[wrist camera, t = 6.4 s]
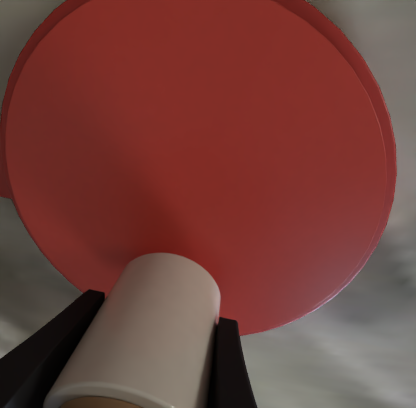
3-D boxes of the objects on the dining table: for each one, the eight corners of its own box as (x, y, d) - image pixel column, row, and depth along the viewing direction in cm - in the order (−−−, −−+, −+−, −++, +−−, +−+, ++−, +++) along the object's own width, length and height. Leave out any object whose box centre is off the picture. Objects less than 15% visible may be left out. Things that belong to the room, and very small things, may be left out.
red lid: (474, 13, 8) (516, 4, 7) (308, 342, 15) (314, 368, 14) (-68, -66, 9) (-120, -87, 7) (20, 281, 16) (0, 300, 14)
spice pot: (153, 336, 13) (94, 506, 8) (99, 269, 11) (-16, 429, 6) (238, 316, 12) (229, 507, 7) (189, 237, 10) (131, 409, 5)
